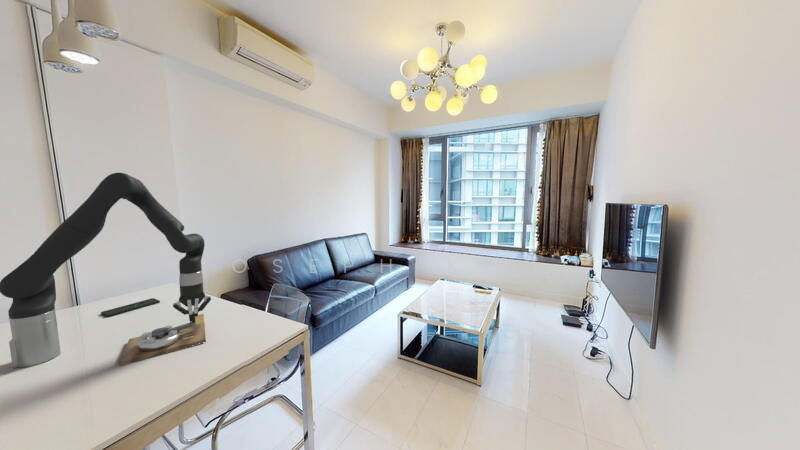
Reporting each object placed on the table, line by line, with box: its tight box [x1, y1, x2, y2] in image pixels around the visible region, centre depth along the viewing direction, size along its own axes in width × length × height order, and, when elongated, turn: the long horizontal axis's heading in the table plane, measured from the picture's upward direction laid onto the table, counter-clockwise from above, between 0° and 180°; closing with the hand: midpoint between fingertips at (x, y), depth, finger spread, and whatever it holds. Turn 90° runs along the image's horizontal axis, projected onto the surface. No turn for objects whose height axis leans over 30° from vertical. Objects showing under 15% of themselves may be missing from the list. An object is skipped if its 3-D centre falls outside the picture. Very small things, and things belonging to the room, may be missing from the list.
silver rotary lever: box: [138, 310, 205, 351], centre depth 103 cm, size 12×20×7 cm, turn 147°
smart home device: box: [100, 297, 161, 318], centre depth 133 cm, size 8×2×20 cm
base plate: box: [118, 321, 207, 366], centre depth 103 cm, size 24×18×2 cm
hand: (193, 321), depth 108 cm, fingers closed
